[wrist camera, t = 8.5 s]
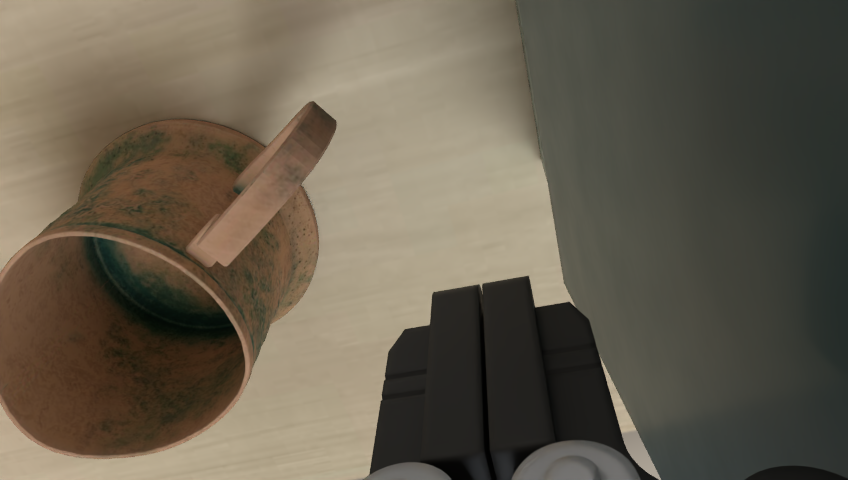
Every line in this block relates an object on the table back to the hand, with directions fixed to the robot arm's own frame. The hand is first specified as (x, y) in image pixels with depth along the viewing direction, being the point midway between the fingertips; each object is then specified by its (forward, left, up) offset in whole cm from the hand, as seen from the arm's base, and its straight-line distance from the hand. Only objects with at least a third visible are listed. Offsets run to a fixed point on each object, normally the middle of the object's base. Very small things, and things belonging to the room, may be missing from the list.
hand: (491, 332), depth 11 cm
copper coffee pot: (+9, +10, -21) cm, 24 cm away
